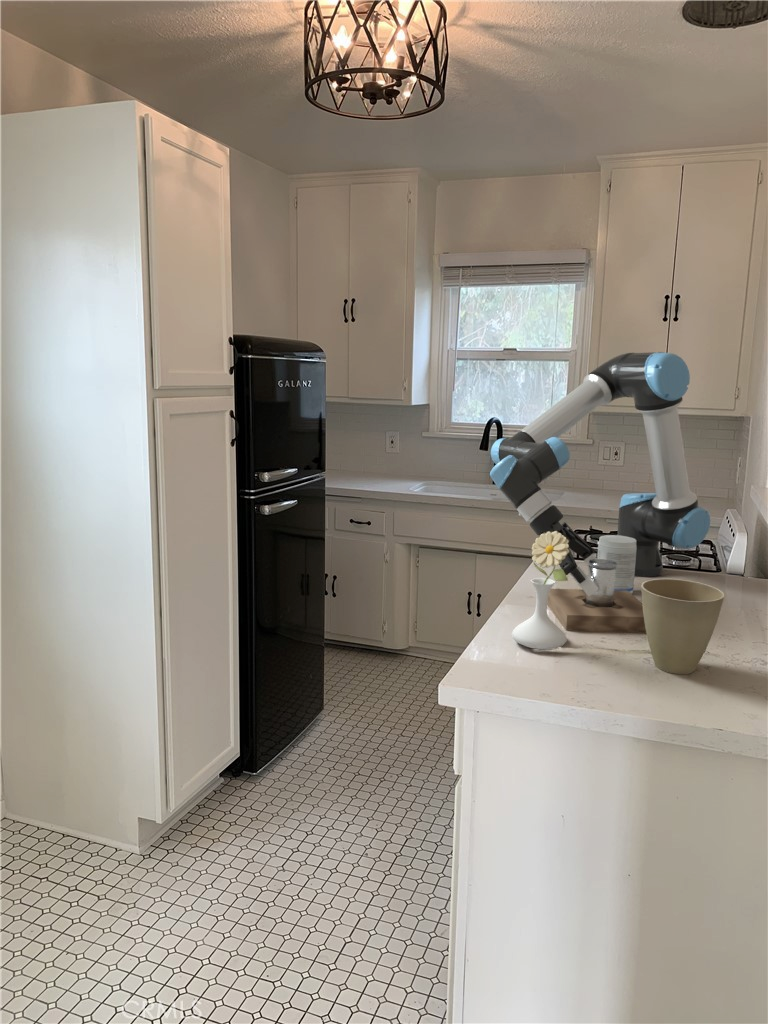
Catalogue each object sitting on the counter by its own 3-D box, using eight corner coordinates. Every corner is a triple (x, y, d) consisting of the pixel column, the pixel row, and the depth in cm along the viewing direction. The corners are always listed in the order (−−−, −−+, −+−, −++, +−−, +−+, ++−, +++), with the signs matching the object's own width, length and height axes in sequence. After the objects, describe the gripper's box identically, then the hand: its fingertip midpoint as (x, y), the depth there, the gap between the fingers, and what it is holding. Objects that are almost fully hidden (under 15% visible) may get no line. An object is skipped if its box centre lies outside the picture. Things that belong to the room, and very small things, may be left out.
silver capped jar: (606, 612, 174) (611, 559, 172) (615, 621, 169) (620, 566, 166) (581, 612, 174) (586, 558, 172) (588, 620, 168) (593, 565, 166)
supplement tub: (640, 595, 193) (645, 540, 190) (616, 600, 188) (621, 544, 185) (610, 585, 201) (615, 533, 198) (586, 590, 196) (591, 536, 193)
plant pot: (636, 648, 155) (643, 574, 152) (714, 660, 149) (723, 584, 146) (630, 674, 141) (638, 593, 138) (715, 688, 136) (725, 605, 133)
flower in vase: (500, 638, 158) (507, 524, 154) (545, 632, 163) (553, 521, 158) (536, 660, 147) (545, 537, 142) (582, 653, 151) (592, 534, 146)
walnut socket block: (626, 608, 182) (627, 590, 181) (656, 636, 162) (658, 617, 161) (545, 606, 181) (546, 588, 180) (565, 634, 162) (567, 615, 161)
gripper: (543, 515, 186) (598, 582, 182) (512, 532, 164) (574, 608, 160) (566, 496, 183) (622, 564, 179) (537, 511, 161) (601, 589, 157)
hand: (600, 585), depth 170 cm, fingers open, 13 cm apart
